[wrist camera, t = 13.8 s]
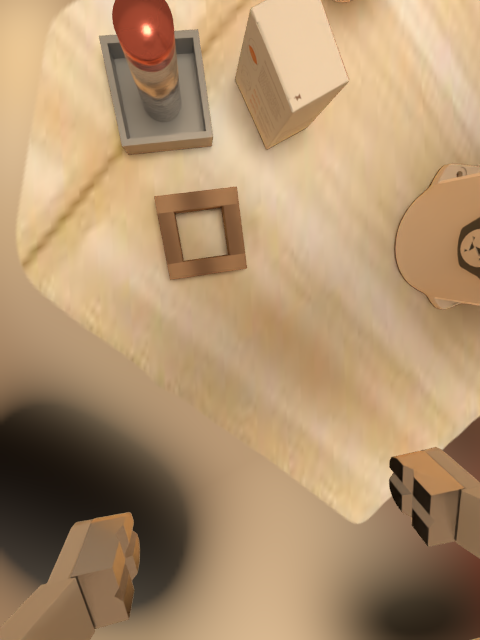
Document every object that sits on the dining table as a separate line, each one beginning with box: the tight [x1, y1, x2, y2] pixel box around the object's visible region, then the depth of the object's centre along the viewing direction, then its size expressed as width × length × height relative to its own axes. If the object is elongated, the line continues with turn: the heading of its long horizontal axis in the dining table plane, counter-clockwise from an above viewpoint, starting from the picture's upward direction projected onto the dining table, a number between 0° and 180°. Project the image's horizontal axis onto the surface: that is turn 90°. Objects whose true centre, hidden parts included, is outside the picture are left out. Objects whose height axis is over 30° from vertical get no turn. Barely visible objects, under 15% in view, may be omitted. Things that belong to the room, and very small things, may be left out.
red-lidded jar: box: [112, 0, 181, 122], centre depth 26 cm, size 4×4×12 cm
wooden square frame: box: [154, 187, 247, 280], centre depth 35 cm, size 9×9×2 cm
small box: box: [235, 0, 349, 149], centre depth 29 cm, size 8×6×10 cm
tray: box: [99, 29, 213, 155], centre depth 31 cm, size 9×9×3 cm
